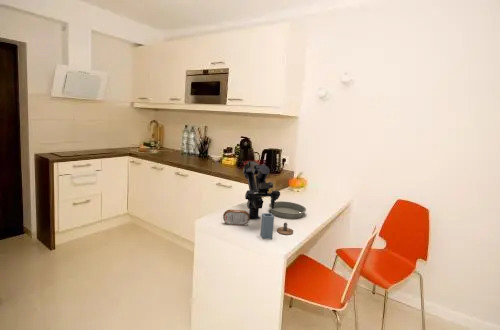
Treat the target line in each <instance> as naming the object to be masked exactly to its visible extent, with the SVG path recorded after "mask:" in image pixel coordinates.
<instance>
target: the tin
mask: <svg viewBox="0 0 500 330" xmlns="http://www.w3.org/2000/svg"><path fill="white" fill-rule="evenodd" d="M222 220H223V222H224V223H225V224H227V225H229V224H232V226H246V225H247V224H249V222H250V220H251V219H250V216H249V212H248V211H246V210H241V209H227V210H225V211H224V212H223V215H222Z"/></svg>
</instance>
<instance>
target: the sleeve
mask: <svg viewBox="0 0 500 330" xmlns="http://www.w3.org/2000/svg"><path fill="white" fill-rule="evenodd" d="M274 222H275V215H273V214H272V213H271V212H267V213H266V212H264V213H263V212H261V221H260V225H261V226H260V233H259V234H260V237H261V239H262V240H272V239H273V234H274V233H273V232H274Z"/></svg>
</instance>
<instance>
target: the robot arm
mask: <svg viewBox="0 0 500 330" xmlns="http://www.w3.org/2000/svg"><path fill="white" fill-rule="evenodd" d="M270 171H271V169H270V167H268V166H267V165H266V164H265V163H264V164H263V163H262V164H259V163H257V161H256V160H248V161H247V163H246V164H245V165H244V166H243V169H242V174H243V176H244V178H245V179H246V180H247V184H248V190H247V191H246V193H245V195H244V200H247V202H246V207H247V209H249V210H248V211H249V212H248V213H249V216H250V219H249V220H256V219H259V220H260V219H261V217H260V215H259V213H260V210H261V209H262V208H263V204H264V200H263V198H262V197H264V198H265V197H270V203H271V206H272V209H273V208H274V203H275V202H277V200H279V198H280V196H281V192H280V191H279V190H272V192H269V190H271V189H272V188H274V183H273V181H269V182H266V179H267V178H268V176H269V174H270Z"/></svg>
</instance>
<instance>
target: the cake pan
mask: <svg viewBox="0 0 500 330" xmlns="http://www.w3.org/2000/svg"><path fill="white" fill-rule="evenodd" d="M268 208H269V209H270V213H272V215H273V216H274V217H275V216H276V217H278V218H282V219H289V220H290V219H291V220H293V219H294V220H295V219H300V218H303V216H304V214H305V213H306V212H307V208H306V207H305V206H304V205H302V204H299V203H295V202H292V201H282V200H281V201H275V203H274V208H273V209H272V206H271V202H270V203H269V204H268ZM299 212H301V213H299Z"/></svg>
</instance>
